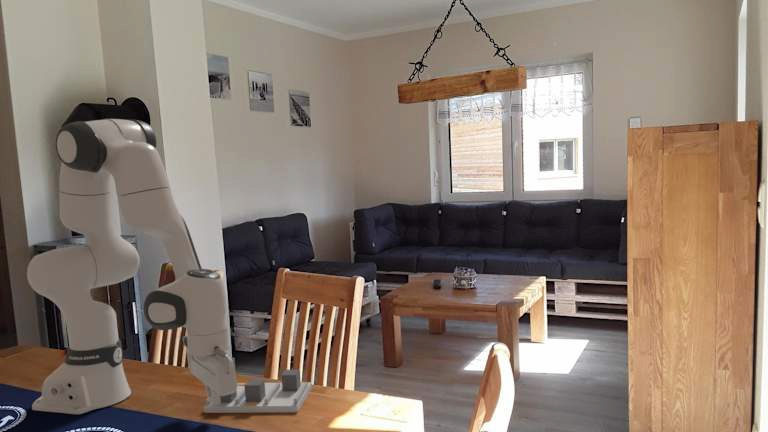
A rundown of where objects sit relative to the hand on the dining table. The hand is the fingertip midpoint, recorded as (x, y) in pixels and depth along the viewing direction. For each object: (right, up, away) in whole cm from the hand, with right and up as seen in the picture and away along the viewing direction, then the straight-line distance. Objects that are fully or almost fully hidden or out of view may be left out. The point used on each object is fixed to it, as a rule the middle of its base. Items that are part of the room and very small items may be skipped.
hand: (214, 402), depth 135 cm
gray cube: (+1, -1, +7) cm, 7 cm away
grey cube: (+15, 0, +12) cm, 19 cm away
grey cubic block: (+8, -1, +6) cm, 10 cm away
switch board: (+8, -2, +10) cm, 13 cm away
